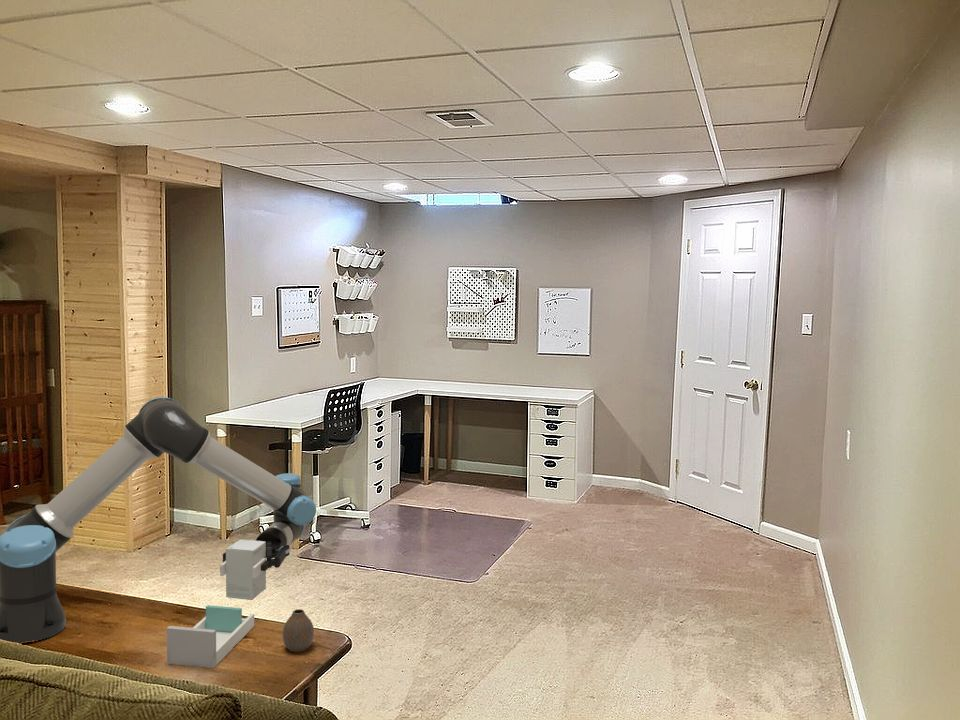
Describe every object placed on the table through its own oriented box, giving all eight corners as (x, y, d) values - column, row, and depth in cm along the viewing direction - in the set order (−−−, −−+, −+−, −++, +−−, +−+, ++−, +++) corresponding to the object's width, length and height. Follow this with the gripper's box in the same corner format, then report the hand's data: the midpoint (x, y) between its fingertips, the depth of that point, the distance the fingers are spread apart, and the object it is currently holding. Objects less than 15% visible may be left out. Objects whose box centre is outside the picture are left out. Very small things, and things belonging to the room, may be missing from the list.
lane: (212, 622, 191) (212, 590, 190) (254, 626, 190) (254, 593, 189) (167, 663, 171) (166, 628, 170) (213, 668, 169) (213, 632, 168)
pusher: (207, 627, 187) (207, 605, 186) (241, 630, 186) (241, 608, 185) (205, 629, 186) (205, 606, 185) (239, 632, 185) (239, 609, 184)
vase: (302, 657, 175) (303, 619, 174) (276, 652, 177) (276, 614, 176) (319, 644, 181) (319, 608, 181) (293, 639, 184) (294, 602, 183)
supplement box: (253, 600, 193) (252, 550, 191) (225, 597, 194) (224, 548, 193) (267, 589, 200) (266, 540, 199) (240, 586, 201) (239, 538, 200)
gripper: (310, 556, 213) (278, 589, 191) (238, 551, 216) (198, 583, 193) (310, 529, 212) (277, 559, 190) (238, 524, 215) (197, 554, 192)
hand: (237, 571), depth 191 cm, fingers closed on supplement box, 7 cm apart
